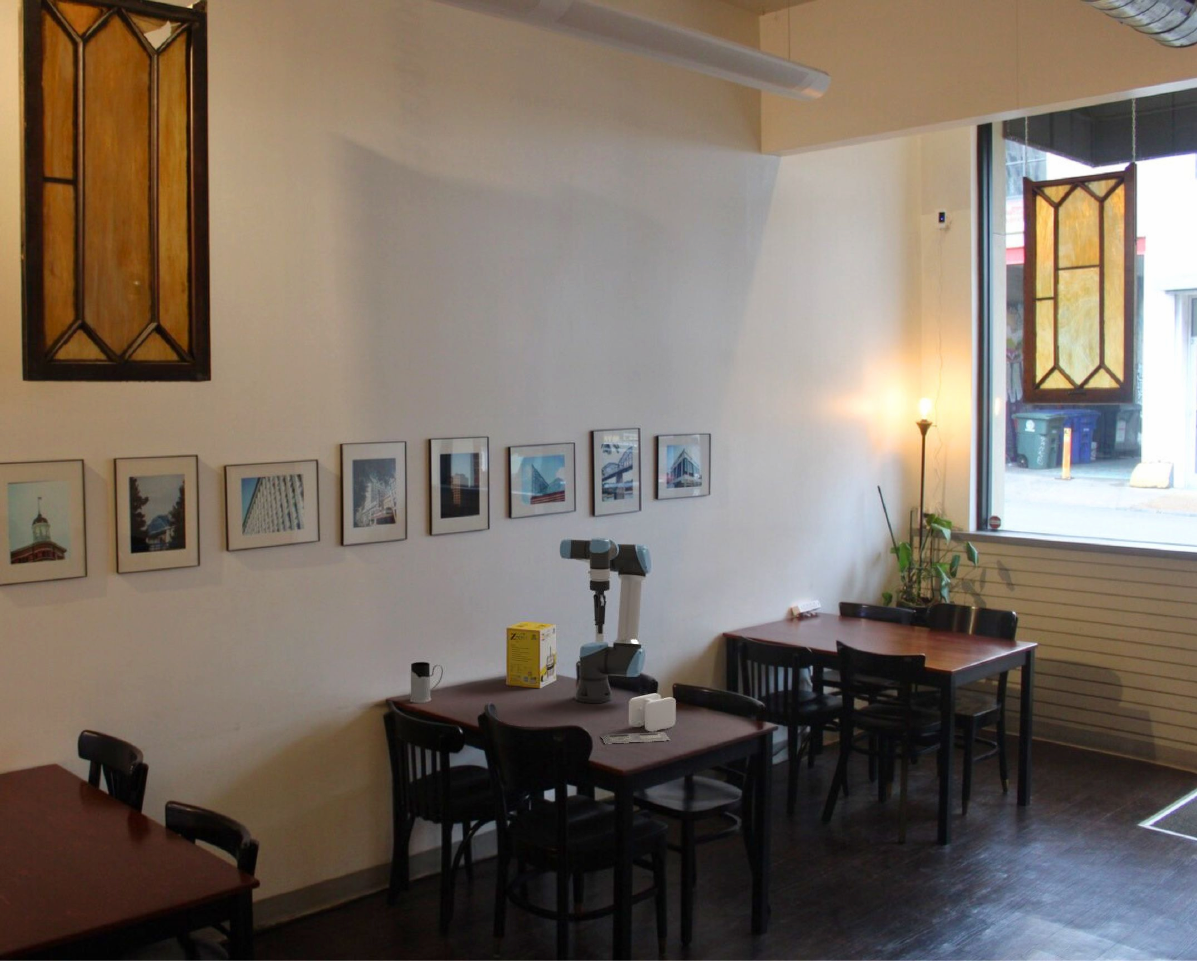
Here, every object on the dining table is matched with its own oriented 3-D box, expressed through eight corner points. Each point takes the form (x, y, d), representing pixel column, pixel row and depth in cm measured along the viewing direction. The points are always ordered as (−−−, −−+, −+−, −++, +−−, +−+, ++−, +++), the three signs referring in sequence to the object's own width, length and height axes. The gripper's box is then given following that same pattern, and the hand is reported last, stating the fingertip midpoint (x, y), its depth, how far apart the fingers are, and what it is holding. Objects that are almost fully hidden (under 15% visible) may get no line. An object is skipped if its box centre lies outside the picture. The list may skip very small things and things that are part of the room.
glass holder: (406, 699, 469) (406, 663, 468) (438, 694, 476) (438, 659, 475) (414, 703, 461) (414, 667, 460) (447, 699, 468) (446, 663, 467)
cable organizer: (645, 734, 420) (646, 703, 419) (627, 728, 428) (627, 697, 427) (675, 727, 429) (676, 697, 428) (657, 721, 437) (657, 691, 436)
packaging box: (523, 676, 508) (523, 621, 506) (556, 680, 502) (556, 624, 500) (506, 684, 493) (506, 627, 491) (539, 688, 487) (539, 630, 485)
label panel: (600, 736, 416) (600, 733, 416) (663, 733, 421) (663, 730, 421) (605, 744, 407) (605, 741, 407) (670, 741, 411) (670, 738, 411)
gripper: (586, 577, 432) (586, 638, 433) (592, 582, 419) (592, 645, 420) (606, 576, 433) (606, 637, 435) (612, 582, 420) (612, 645, 422)
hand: (599, 641), depth 427 cm, fingers closed
